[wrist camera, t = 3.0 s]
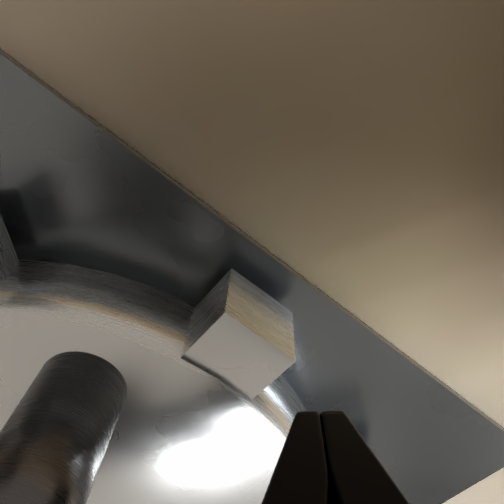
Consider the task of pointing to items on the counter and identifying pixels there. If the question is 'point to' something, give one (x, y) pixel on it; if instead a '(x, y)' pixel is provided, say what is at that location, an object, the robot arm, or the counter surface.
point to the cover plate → (212, 271)
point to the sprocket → (138, 388)
